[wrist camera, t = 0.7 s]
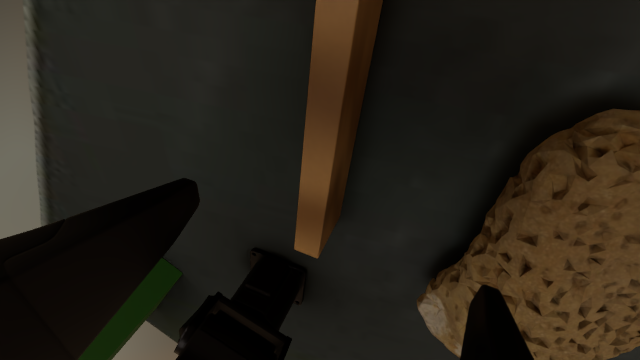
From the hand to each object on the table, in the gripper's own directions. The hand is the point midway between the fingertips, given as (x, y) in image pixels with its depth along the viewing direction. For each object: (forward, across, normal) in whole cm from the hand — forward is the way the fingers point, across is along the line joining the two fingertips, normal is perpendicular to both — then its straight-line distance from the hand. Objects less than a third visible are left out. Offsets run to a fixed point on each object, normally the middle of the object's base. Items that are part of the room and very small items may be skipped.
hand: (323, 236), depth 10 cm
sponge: (+14, -11, +9) cm, 20 cm away
